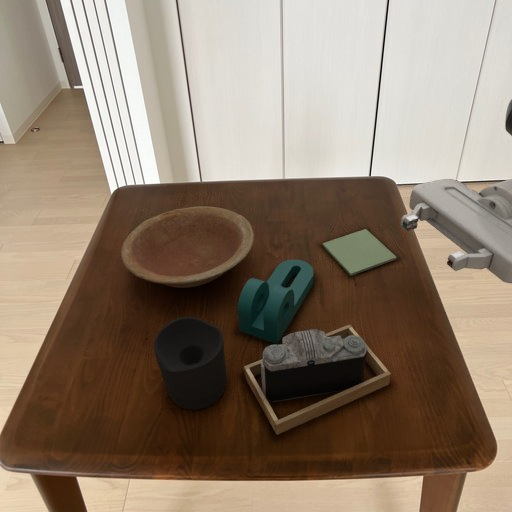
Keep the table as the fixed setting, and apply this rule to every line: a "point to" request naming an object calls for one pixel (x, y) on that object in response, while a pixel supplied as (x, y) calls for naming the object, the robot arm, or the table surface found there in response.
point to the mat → (358, 252)
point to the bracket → (274, 300)
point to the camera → (312, 365)
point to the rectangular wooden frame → (326, 404)
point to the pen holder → (191, 362)
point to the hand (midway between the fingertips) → (426, 242)
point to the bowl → (187, 246)
